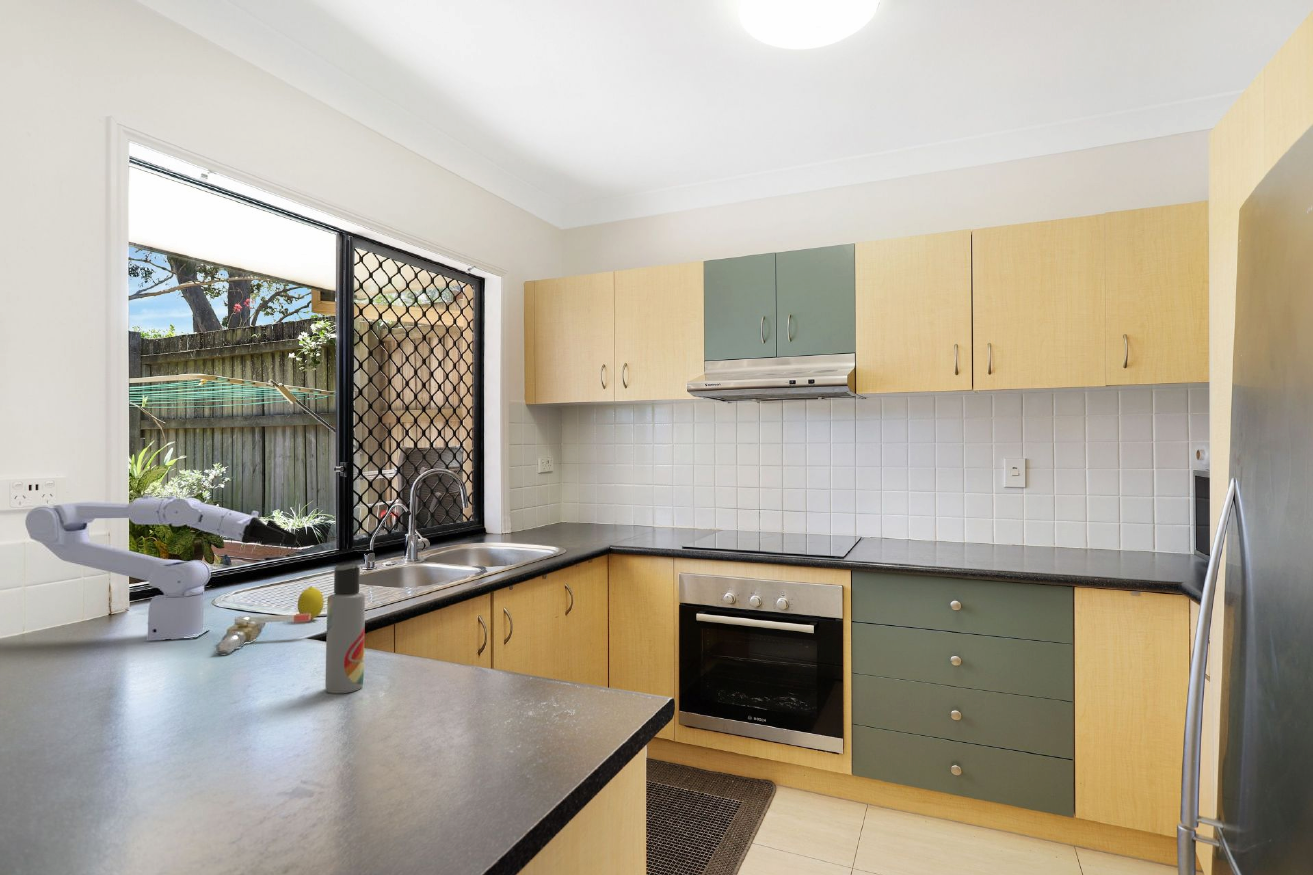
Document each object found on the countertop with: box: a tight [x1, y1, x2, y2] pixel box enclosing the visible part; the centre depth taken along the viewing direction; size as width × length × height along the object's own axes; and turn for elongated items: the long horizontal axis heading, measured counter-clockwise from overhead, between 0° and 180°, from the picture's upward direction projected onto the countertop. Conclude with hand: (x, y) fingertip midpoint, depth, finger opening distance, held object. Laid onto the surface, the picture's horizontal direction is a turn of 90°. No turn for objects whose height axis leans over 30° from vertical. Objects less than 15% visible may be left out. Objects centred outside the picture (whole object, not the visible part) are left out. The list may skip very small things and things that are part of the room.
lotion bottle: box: [324, 563, 366, 695], centre depth 114 cm, size 6×6×20 cm
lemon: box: [297, 586, 324, 622], centre depth 166 cm, size 6×6×8 cm
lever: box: [234, 613, 312, 625], centre depth 147 cm, size 14×3×1 cm, turn 105°
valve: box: [216, 623, 266, 655], centre depth 145 cm, size 22×4×4 cm, turn 15°
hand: (289, 539), depth 154 cm, fingers open, 7 cm apart
